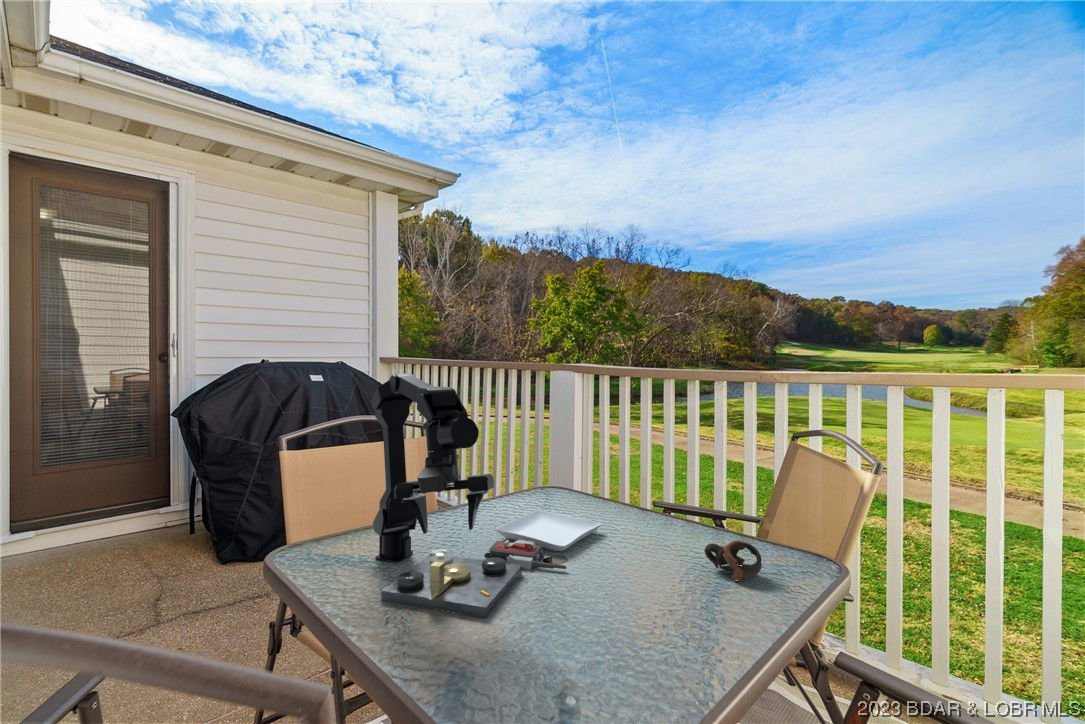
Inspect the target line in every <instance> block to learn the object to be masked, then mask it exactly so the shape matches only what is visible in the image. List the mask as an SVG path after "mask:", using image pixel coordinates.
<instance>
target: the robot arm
mask: <svg viewBox="0 0 1085 724" xmlns="http://www.w3.org/2000/svg"><path fill="white" fill-rule="evenodd" d="M371 400H372V401H371V405H372V408H373V409H372V410H374V416H375V419H376V420H377V421H378V423H379V424H380V425H381V427H382V435H383V436H382V439H383V456H384V470H385V471H384V474H385V477H384V478H385V491H384V492H383V494H382V496H381V498H380V499H379V510H378V511H377V514H376V515H375V518H374V519H373V521H372V524H373V525H372V526H373V527H372V528H373V532H374V533H375V534H377V535H378V536H379V544H378V545H379V546H378V547H379V548H378V549H379V551H378V552H379V553H378V554H377V555H376V556H375V560H378V561H383V562H385V561H386V562H393V563H401V561H403V560H405V559H406V558H408V557H409V556H410V555H412V554H414V551H413V550H412V536H411V535H410V534H411V533H410V531H412V530H413V531H414V530H416V527H417V521H418V524H419V526H420V528H421V531H422V533H423V534H424V535H426V534H427V533H428V528H429V527H428V523H429V522H428V510H427V508H428V507H427V496H426V494H427V493H442V492H445V491H446V492H447V491H457V490H459V491H460V490H469V491H470V492H469V493H467V494H466V500H467V503H468V504H467V505H468V507H467V511H468V512H467V515H468V516H467V517H468V518H467V522H468V523H467V524H468V530H469V531H472V530H473V528H474V525H475V521H476V518H477V514H478V511H479V507H480V504H481V501H482V499H483V497H484V495H486V494H488V493H489V491H490V490H492V489H493V488H495V479H494V476H493V475H492V474H491V473H485V474H474V475H470V476H468V477H467V479H461V473H460V474H459V465H458V460H459V457H460V456H459V453H457V452H458V450H461V449H463V450H464V449H469V448H471V447H473V446H474V445H475V444H476V442H477V441H478V439H479V437H480V436H479V434H480V431H479V428H478V426H477V424H476V422H475V421H474V420H473V419H472V418H469V416H468V415H469V414H468V411H467V409H466V407H465V406H464V404H463V403H462V400H461V399H460V397H459V395H458V393H457V391H456V389H454V388H453V387H449V386H434V385H432V384H430V383H428V382H426V381H424V380H421V379H420V378H418V377H416V375H415V374H412V373H394V374H392V375H390V377H389V379H388V380H387V381H386V382H383V384H381V385H379V386H378V387H377V388H376V390H375V392H374V394H373V396H372V399H371ZM413 403H416V410H417V411H418V412H419V413H420V414H421V416H423V417H424V419H425V422H424V423H423V425H422V430H425V438H426V439H425V440H426V450H427V451H426V453H427V457H425V461H424V462H425V465H424V467H423V469H421V471H420V472H419V473H418V475H417V476H416V479H417V480H412V481H407V468H406V467H407V466H406V449H405V447H406V446H405V432H404V431H405V430H404V429H405V428H404V426H405V424H406V421H407V420H408V418H409V416H410V412H411V406H412V404H413ZM423 494H425V495H423Z"/></svg>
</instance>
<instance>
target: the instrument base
mask: <svg viewBox="0 0 1085 724" xmlns="http://www.w3.org/2000/svg"><path fill="white" fill-rule="evenodd" d="M435 561H436V562H443V563H444V566H446V565H448V564H453V563H463V564H467V565H469V566H470V568H471V576H470V578H469V579H467V580H465V581H462V582H456V583H452V584H451V585H450V586H449V587H448V588H446V589H445V590H444V591H443V592H442V593H441V594H440V595H439V596H435V595H431V588H430V565H431V564H432V563H434V562H435ZM522 575H523V568H522V565H516V564H509V563H506V560H504V559H502V558H497V557H492V558H485V559H479V558H477V559H476V558H470V557H464V556H463V557H462V556H455V555H454V552H453V550H452V549H447V548H441V549H439V548H438V549H434V550H432V551H430V553H429V554H428V556H426V557H425V558H423V559H422V560H421V561H420V562H418V563H416V565H414V566H412V567H411V568H410V569H409V570H407V571H406V572H405V571H404V572H402V573H400V574H398V575H397V576H396V579H395V580H393V581H392V582H391V583H390V584H388V585H387V586H385V587H384V588H382V589H381V591H380V592H381V593H380V600H381V602H387V603H394V604H400V605H405V606H411V607H415V606H417V607H416V608H421V607H423V609H427V608H428V610H433V609H437V610H436V611H439V610H443V611H442V612H445V611H449V612H448V613H451V612H455V613H454V614H456V613H460V614H459V615H462V614H464V615H463V616H468V615H469V616H470V617H474V618H480V619H487V618H488V617H489V615H490V614H491V613H492V611H494V609H495V608H496V607H497V606H498V604H499V603H500V600H501V601H502V600H503V598H504V597H505V596H506V595H505V594H508V592H509V591H510V589H511V588H512V587H513V586H514V585H515V584H516V583H517V581H518V580H519V579H520V577H521V576H522ZM504 595H505V596H504ZM469 616H468V617H469Z"/></svg>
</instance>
